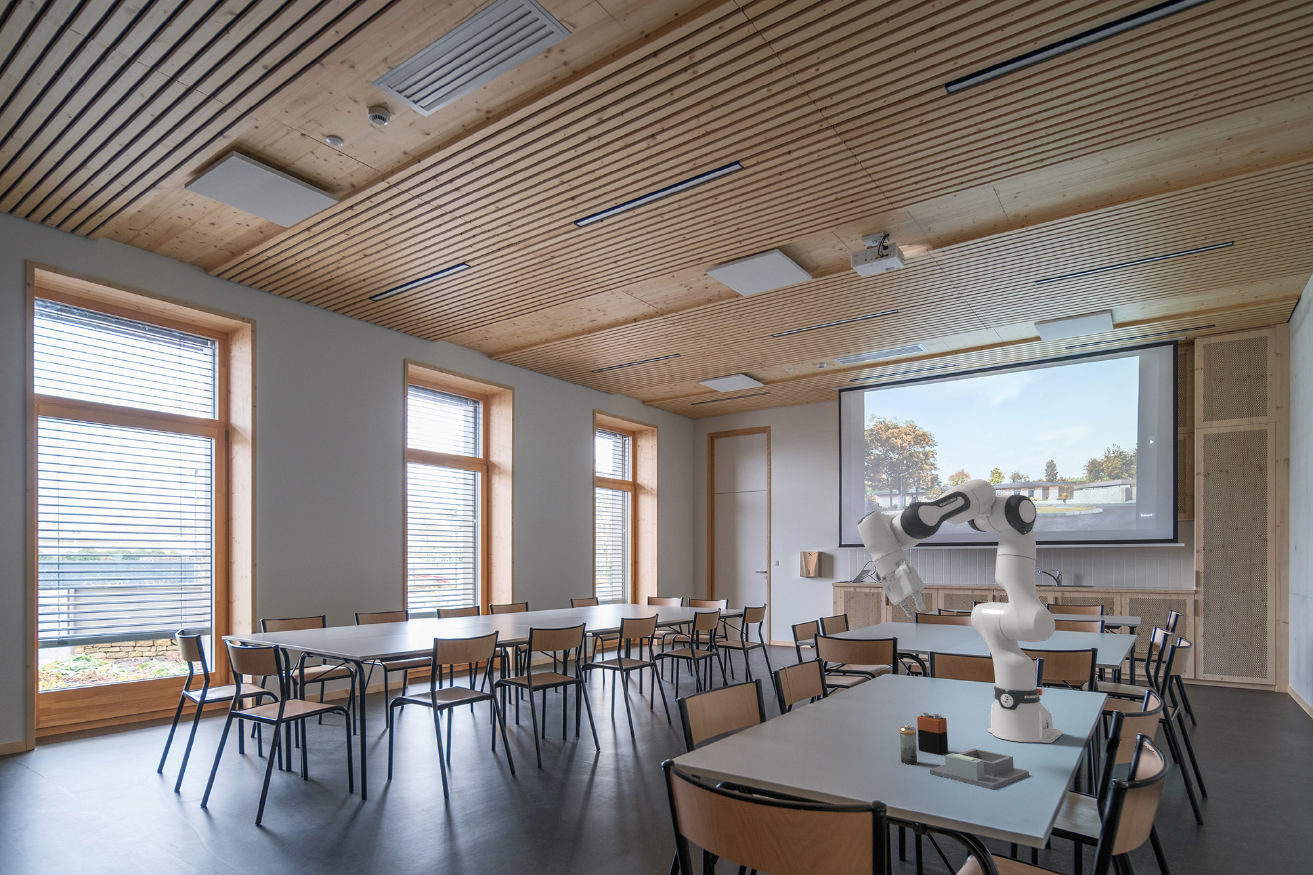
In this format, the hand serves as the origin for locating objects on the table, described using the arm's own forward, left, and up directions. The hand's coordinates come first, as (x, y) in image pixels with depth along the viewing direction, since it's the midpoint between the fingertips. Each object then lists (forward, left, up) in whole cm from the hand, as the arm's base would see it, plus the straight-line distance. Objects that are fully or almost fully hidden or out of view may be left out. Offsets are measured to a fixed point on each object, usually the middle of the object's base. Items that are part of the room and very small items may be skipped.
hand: (917, 613), depth 206 cm
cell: (+6, -1, -38) cm, 38 cm away
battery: (-9, -3, -38) cm, 39 cm away
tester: (+2, +16, -38) cm, 41 cm away
